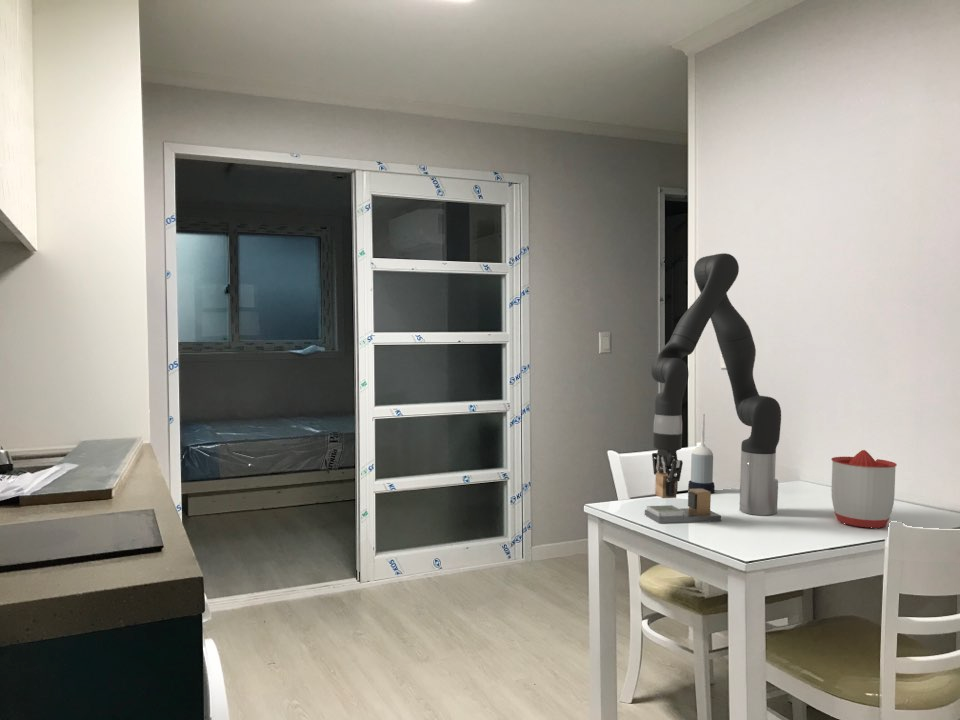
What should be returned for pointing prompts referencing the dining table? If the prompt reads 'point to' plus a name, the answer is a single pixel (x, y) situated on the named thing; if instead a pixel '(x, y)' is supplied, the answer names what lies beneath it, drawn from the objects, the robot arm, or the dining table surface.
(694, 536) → the dining table surface
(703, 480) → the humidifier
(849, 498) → the citrus juicer
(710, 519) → the rail dock
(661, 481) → the tan wooden block
